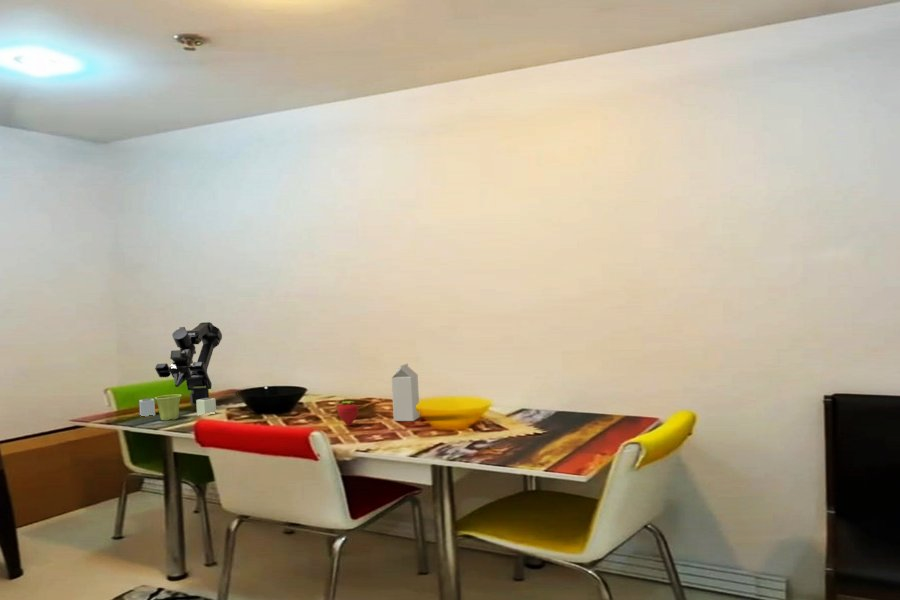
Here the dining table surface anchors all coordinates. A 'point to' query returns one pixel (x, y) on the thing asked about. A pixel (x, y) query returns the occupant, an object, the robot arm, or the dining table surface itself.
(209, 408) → the sage block
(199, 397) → the robot arm
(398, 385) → the milk carton
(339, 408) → the strawberry
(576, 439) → the dining table surface
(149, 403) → the slate block
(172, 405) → the plant pot
